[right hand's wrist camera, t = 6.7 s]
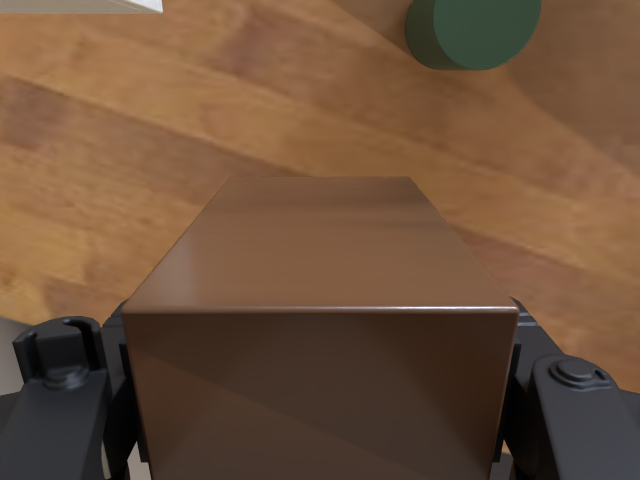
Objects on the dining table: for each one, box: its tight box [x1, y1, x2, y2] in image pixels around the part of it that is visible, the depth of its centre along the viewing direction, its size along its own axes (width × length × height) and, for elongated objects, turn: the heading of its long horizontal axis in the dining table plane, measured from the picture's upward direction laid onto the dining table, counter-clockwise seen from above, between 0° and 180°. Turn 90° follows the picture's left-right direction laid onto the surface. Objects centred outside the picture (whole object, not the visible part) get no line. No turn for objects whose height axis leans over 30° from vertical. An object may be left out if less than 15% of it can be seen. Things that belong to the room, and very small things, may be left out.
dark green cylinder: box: [405, 0, 541, 70], centre depth 27 cm, size 6×6×8 cm
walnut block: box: [121, 177, 520, 480], centre depth 11 cm, size 6×6×8 cm
